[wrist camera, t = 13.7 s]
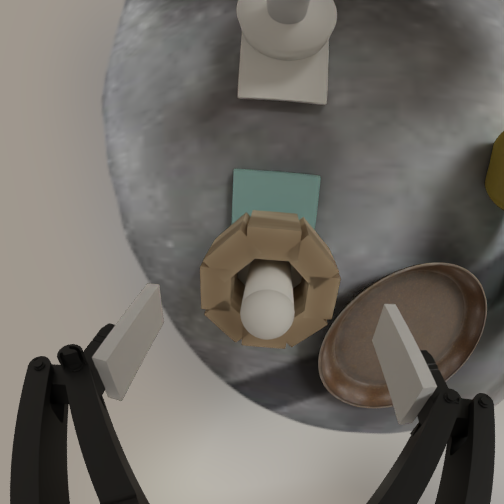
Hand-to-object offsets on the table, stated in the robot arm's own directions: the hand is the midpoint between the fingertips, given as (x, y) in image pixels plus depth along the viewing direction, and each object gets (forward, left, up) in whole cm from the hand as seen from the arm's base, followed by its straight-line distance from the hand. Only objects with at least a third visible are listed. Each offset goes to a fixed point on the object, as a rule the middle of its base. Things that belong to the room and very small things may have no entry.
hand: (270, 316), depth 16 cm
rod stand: (-20, 0, -11) cm, 22 cm away
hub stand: (0, 0, -11) cm, 11 cm away
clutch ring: (0, 0, -7) cm, 7 cm away
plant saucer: (+9, +16, -11) cm, 22 cm away
